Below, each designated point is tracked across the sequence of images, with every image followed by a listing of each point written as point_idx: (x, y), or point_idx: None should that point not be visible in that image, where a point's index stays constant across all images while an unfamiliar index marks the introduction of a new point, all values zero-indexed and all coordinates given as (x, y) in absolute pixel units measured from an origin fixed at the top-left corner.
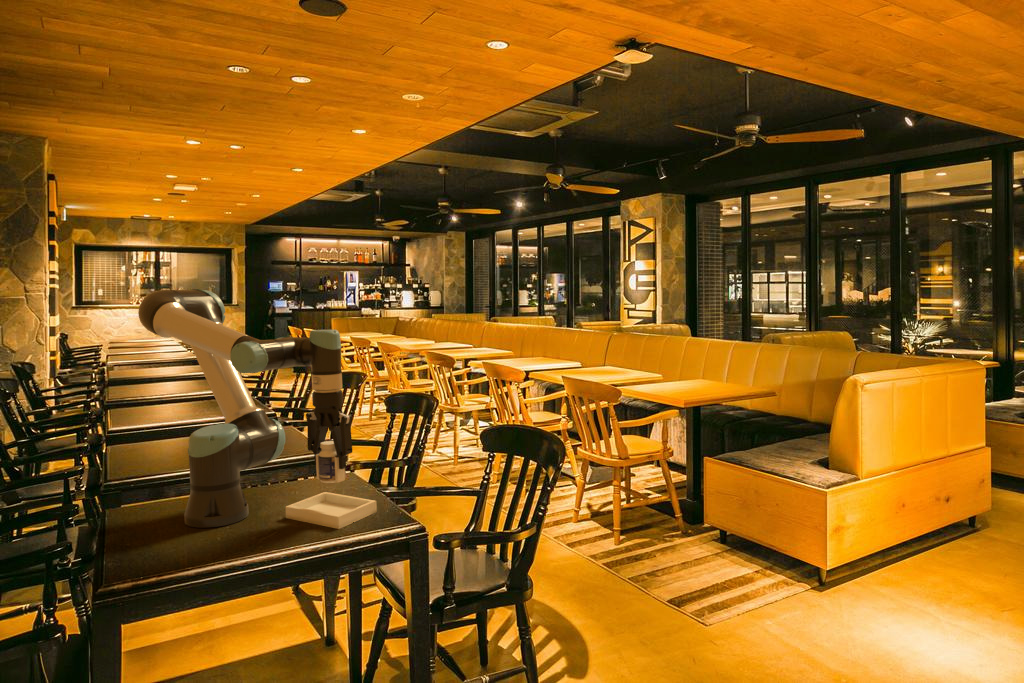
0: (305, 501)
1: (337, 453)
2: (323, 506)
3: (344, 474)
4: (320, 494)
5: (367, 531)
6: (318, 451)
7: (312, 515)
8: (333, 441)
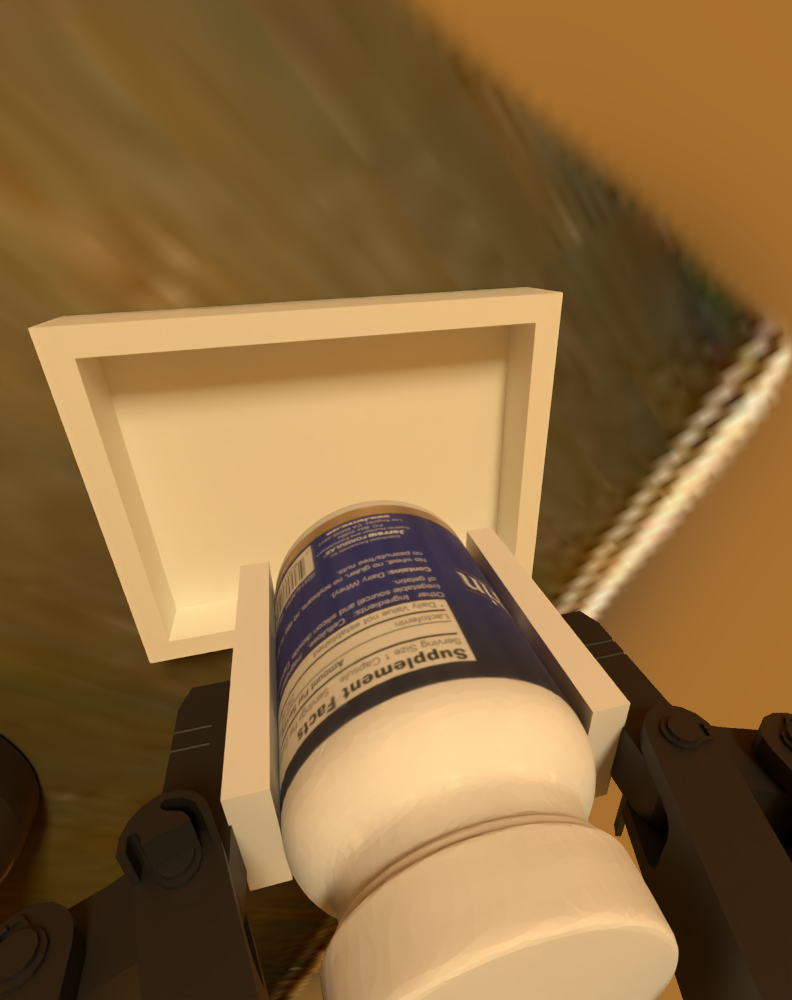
0: (138, 543)
1: (644, 834)
2: (199, 432)
3: (510, 558)
4: (76, 400)
5: (626, 510)
6: (241, 900)
7: None
8: (509, 978)
